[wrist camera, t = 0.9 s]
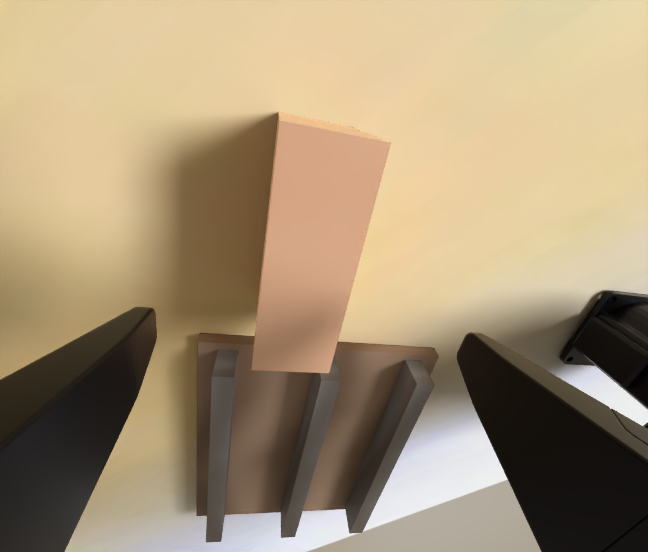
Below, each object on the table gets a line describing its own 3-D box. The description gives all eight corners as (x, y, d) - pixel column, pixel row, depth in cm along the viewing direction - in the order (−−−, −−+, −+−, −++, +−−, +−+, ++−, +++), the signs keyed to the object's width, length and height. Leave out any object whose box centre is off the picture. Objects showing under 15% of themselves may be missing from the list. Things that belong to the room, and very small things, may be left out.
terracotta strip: (352, 127, 15) (390, 142, 10) (315, 301, 20) (328, 373, 15) (278, 111, 14) (279, 120, 9) (258, 295, 19) (251, 370, 14)
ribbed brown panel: (433, 348, 23) (453, 380, 20) (365, 499, 32) (373, 534, 30) (200, 333, 20) (188, 368, 17) (198, 505, 29) (190, 546, 26)
